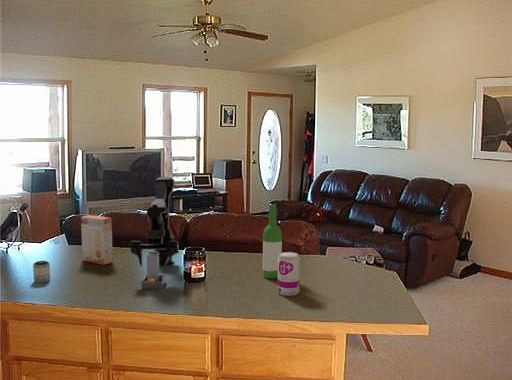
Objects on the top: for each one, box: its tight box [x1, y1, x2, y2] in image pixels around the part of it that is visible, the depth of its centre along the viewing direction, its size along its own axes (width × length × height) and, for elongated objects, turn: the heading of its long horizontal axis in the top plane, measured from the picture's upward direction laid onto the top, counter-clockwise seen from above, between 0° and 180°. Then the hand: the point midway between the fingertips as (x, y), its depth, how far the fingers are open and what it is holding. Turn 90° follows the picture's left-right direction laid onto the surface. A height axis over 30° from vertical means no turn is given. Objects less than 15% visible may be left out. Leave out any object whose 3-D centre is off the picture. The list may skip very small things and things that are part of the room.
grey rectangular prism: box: [146, 251, 160, 281], centre depth 225 cm, size 5×4×13 cm
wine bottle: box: [262, 204, 283, 280], centre depth 236 cm, size 8×8×30 cm
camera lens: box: [32, 260, 51, 284], centre depth 230 cm, size 6×6×8 cm
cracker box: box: [80, 214, 114, 266], centre depth 259 cm, size 14×6×21 cm, turn 58°
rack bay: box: [140, 274, 166, 290], centre depth 225 cm, size 9×8×4 cm
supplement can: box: [277, 251, 301, 297], centre depth 216 cm, size 8×8×15 cm
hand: (152, 265), depth 223 cm, fingers open, 9 cm apart
